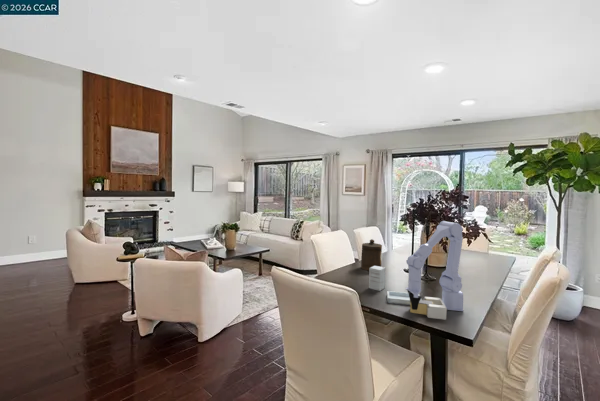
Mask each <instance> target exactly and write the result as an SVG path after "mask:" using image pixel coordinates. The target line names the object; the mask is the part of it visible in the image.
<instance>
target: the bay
mask: <svg viewBox="0 0 600 401" xmlns="http://www.w3.org/2000/svg"><path fill="white" fill-rule="evenodd" d="M423 300H426V301H432V303H433V304H427V315H426V316H427V318H429V319H434V320H436V319H437V320H444V321H446V320H447V311H448V310H447V308H446V306H445V305H444V303H443V301H442V297H432V296H423Z"/></svg>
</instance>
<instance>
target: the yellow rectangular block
mask: <svg viewBox="0 0 600 401" xmlns="http://www.w3.org/2000/svg"><path fill="white" fill-rule="evenodd" d="M427 304H433V303H432V301H426V300H424V299H421V300H420V301H419V304H418V308H417V310H413V309H412V305H410V310H409V313H412V314H419V315H425V316H427Z"/></svg>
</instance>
